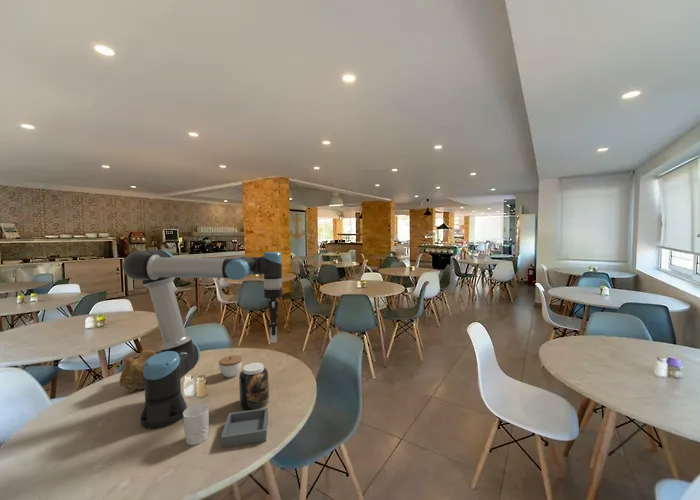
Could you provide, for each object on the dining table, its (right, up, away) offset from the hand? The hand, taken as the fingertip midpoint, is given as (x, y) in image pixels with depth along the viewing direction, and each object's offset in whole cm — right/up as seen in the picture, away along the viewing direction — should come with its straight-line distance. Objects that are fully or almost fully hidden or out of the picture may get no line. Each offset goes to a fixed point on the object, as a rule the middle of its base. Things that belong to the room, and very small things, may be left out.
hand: (273, 337), depth 130 cm
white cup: (-19, -27, -27) cm, 43 cm away
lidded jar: (-27, -25, +21) cm, 42 cm away
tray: (-3, -26, -24) cm, 36 cm away
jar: (-7, -26, -5) cm, 27 cm away
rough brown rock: (-63, -26, +12) cm, 69 cm away
